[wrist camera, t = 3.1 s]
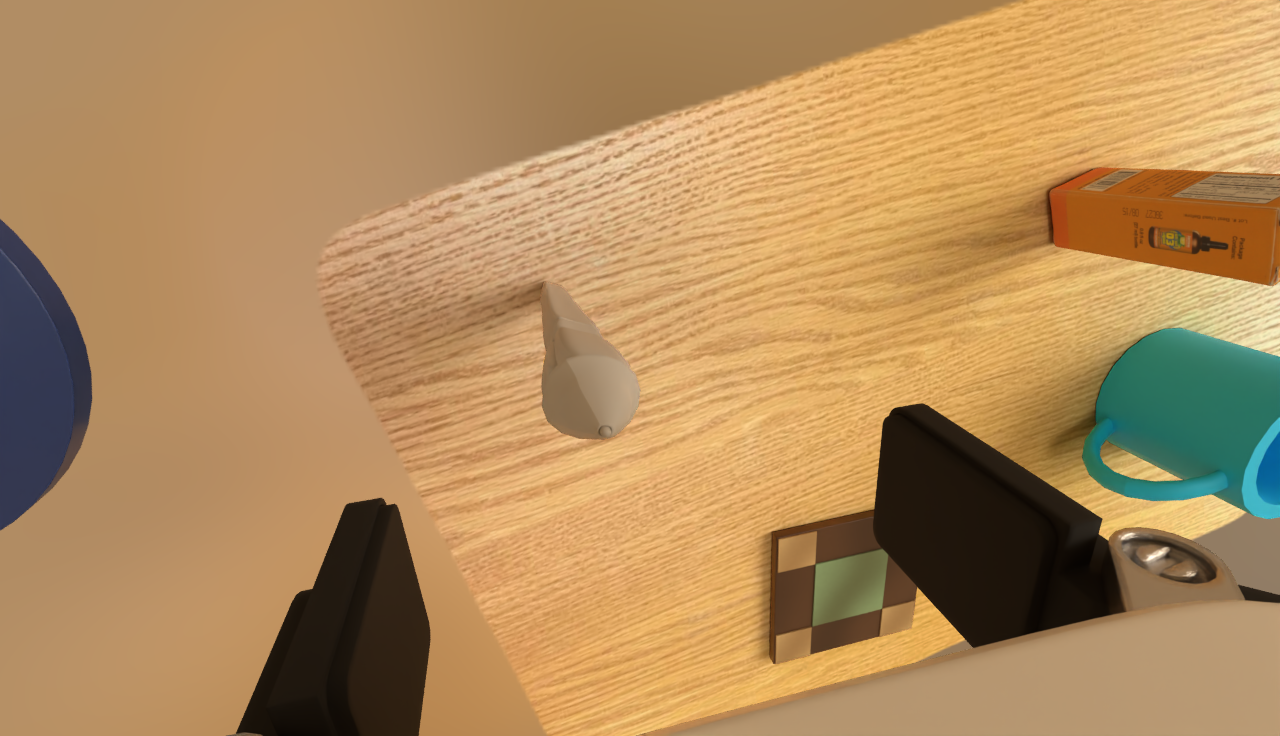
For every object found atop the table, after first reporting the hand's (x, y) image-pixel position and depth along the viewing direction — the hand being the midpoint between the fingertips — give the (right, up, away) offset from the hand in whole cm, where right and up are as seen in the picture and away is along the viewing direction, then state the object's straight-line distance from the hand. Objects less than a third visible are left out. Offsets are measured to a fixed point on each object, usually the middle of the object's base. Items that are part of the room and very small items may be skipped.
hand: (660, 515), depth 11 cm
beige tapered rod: (-4, +6, +16) cm, 18 cm away
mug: (+30, +1, +27) cm, 41 cm away
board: (+13, -11, +27) cm, 31 cm away
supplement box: (+23, +11, +21) cm, 33 cm away
